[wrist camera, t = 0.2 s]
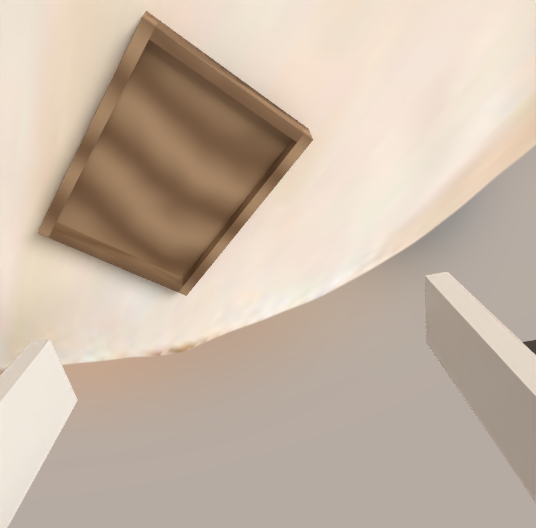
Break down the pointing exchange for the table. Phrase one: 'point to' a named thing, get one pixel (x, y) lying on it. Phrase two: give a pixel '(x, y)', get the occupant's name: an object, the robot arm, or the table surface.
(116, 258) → the tray
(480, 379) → the robot arm
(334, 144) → the table surface
